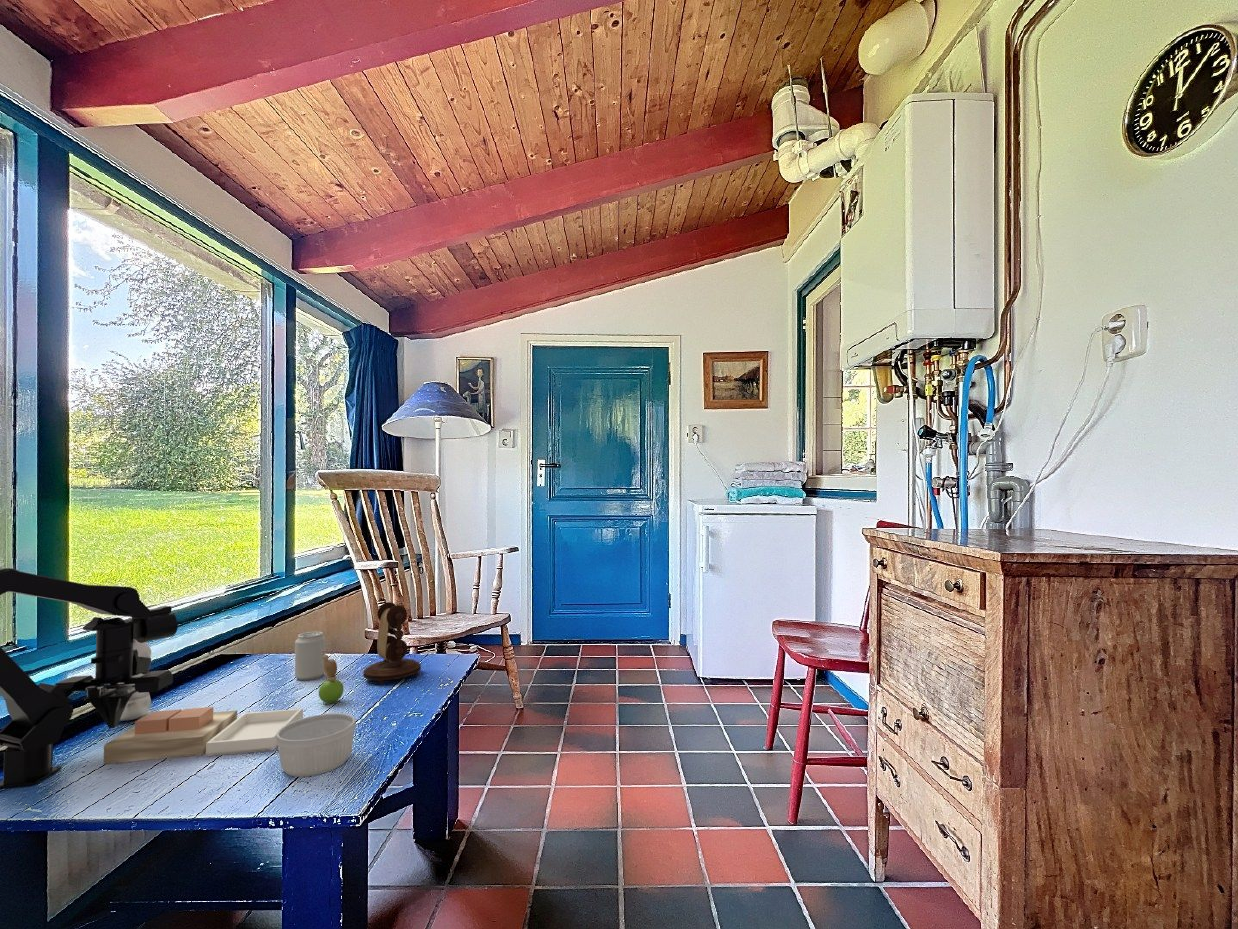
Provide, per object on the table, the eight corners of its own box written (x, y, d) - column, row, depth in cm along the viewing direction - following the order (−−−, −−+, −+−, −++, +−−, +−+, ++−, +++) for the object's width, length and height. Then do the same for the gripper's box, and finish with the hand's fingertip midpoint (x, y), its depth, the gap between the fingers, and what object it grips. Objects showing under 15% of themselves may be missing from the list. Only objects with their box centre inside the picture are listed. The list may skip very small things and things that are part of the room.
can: (296, 675, 164) (296, 632, 165) (325, 671, 167) (325, 629, 168) (293, 683, 157) (294, 637, 158) (324, 678, 160) (325, 634, 161)
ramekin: (258, 779, 103) (258, 739, 103) (307, 747, 116) (307, 711, 116) (327, 782, 101) (327, 741, 102) (369, 749, 114) (369, 713, 115)
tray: (273, 750, 115) (273, 737, 115) (205, 756, 113) (206, 743, 113) (302, 719, 130) (302, 708, 131) (244, 724, 128) (244, 713, 129)
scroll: (355, 677, 161) (355, 604, 162) (408, 666, 171) (407, 597, 172) (374, 690, 150) (374, 611, 151) (429, 677, 160) (429, 603, 161)
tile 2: (199, 729, 117) (199, 716, 117) (168, 731, 116) (168, 719, 117) (213, 719, 123) (213, 706, 123) (184, 721, 122) (184, 709, 122)
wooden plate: (202, 754, 113) (203, 736, 114) (103, 763, 111) (104, 744, 111) (236, 726, 127) (237, 710, 127) (149, 734, 124) (149, 717, 125)
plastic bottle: (130, 725, 130) (132, 634, 131) (105, 723, 131) (107, 633, 132) (158, 714, 136) (160, 627, 137) (135, 713, 137) (136, 627, 138)
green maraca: (335, 696, 146) (335, 647, 146) (347, 701, 142) (347, 651, 142) (312, 702, 142) (312, 652, 142) (324, 708, 138) (324, 656, 138)
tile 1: (165, 732, 116) (166, 719, 116) (134, 734, 115) (135, 721, 116) (181, 721, 122) (181, 709, 122) (151, 723, 121) (152, 711, 121)
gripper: (188, 636, 128) (187, 709, 127) (90, 642, 124) (89, 716, 123) (157, 649, 117) (155, 729, 116) (49, 656, 113) (47, 738, 113)
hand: (113, 727), depth 117 cm, fingers closed
